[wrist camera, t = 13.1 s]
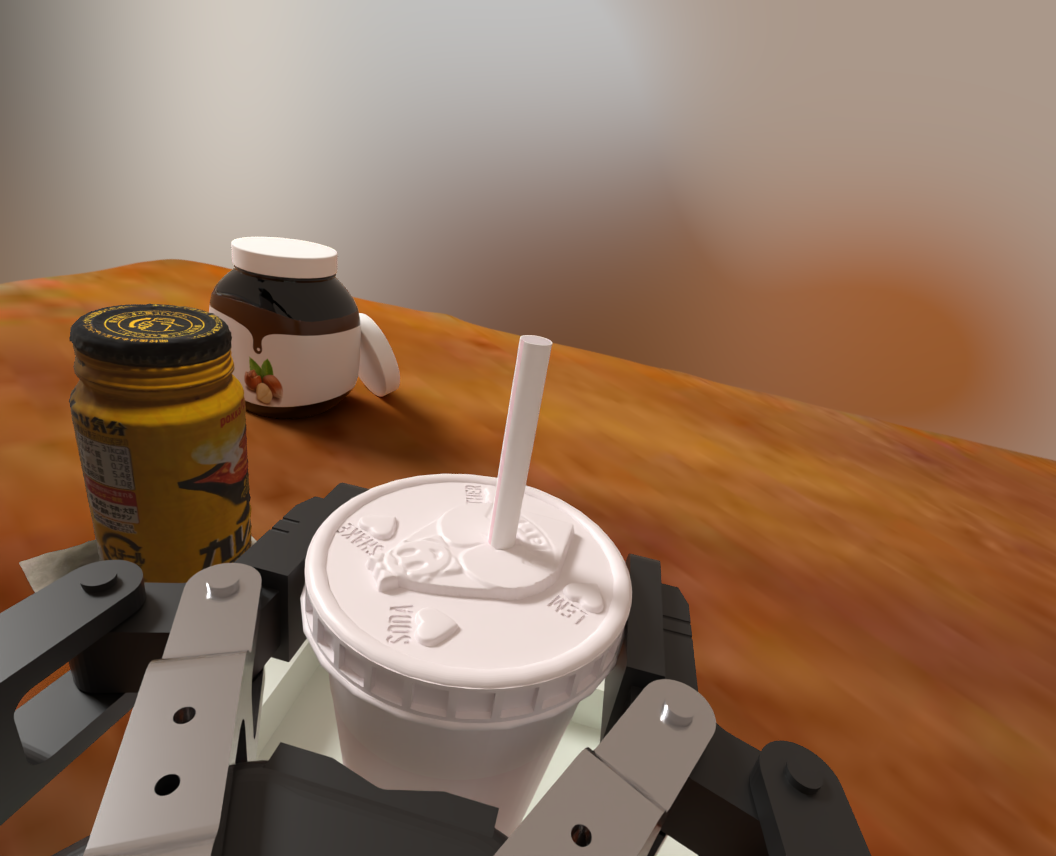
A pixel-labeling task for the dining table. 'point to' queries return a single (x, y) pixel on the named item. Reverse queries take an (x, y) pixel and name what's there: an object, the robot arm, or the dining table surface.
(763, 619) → the dining table surface
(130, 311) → the condiment
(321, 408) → the spread jar
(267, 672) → the tray
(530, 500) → the smoothie
